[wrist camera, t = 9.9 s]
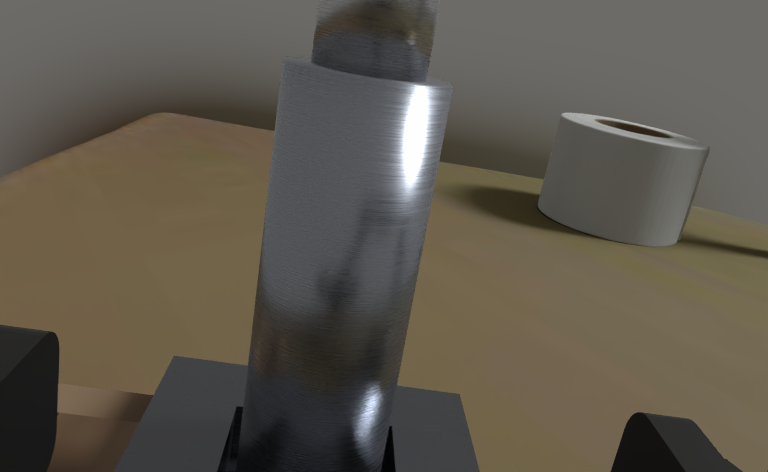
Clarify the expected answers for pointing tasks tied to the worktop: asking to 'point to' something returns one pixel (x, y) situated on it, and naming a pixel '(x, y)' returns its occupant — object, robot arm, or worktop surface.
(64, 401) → the brown hollowed block
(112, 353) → the worktop surface
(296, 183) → the metal spray bottle
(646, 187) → the white toilet paper roll
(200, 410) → the socket block
